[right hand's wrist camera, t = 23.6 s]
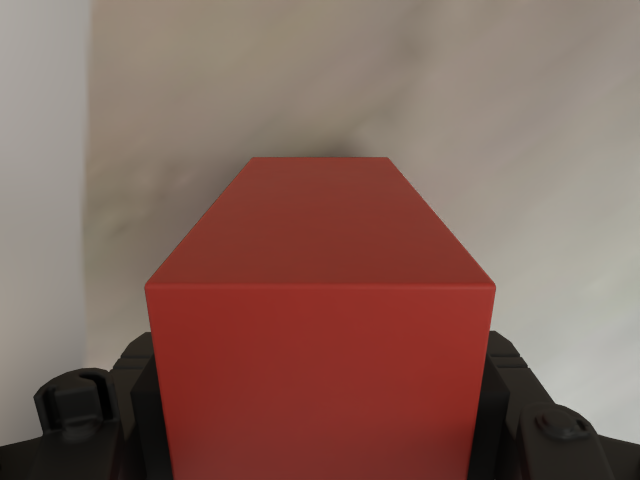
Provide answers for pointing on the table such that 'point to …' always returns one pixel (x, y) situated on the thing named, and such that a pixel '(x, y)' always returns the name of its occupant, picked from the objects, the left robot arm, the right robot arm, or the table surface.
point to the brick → (320, 330)
